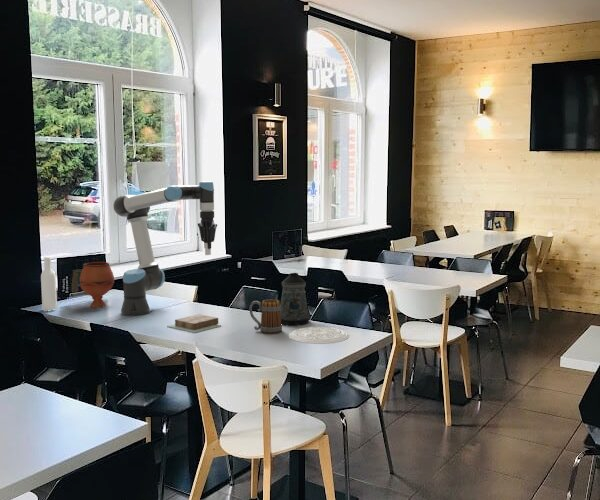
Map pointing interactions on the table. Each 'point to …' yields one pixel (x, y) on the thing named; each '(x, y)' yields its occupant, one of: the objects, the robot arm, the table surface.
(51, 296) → the bottle
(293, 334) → the ceiling medallion
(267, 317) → the mug
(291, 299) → the beer stein
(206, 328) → the mat
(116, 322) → the table surface
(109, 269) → the goblet
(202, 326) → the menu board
